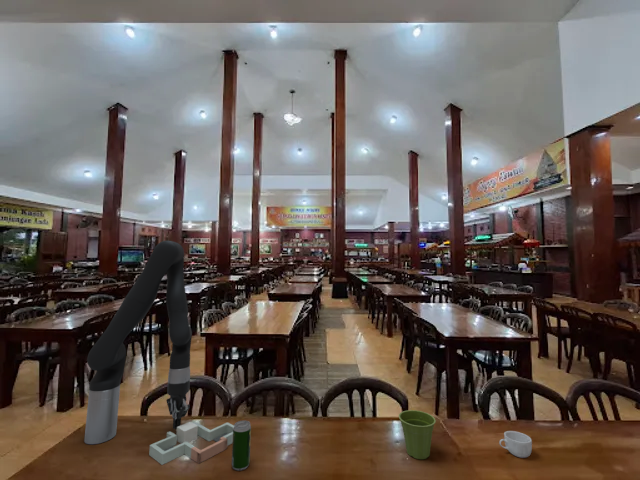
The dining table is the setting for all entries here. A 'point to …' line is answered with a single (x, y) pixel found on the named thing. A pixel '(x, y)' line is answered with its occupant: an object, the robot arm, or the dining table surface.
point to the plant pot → (417, 432)
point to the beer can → (241, 445)
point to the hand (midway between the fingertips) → (176, 428)
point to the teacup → (517, 443)
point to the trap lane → (167, 452)
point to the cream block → (187, 432)
